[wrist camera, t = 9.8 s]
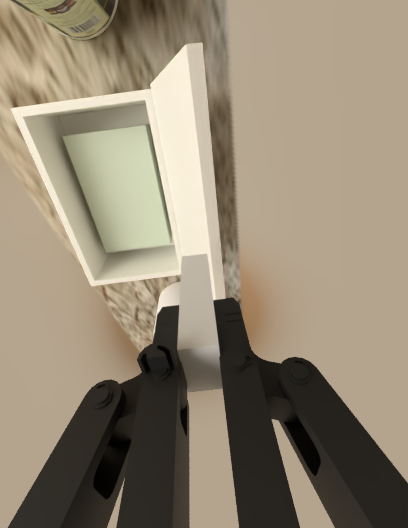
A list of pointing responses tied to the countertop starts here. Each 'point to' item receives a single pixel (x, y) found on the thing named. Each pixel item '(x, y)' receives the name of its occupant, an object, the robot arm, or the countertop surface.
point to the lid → (190, 157)
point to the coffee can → (73, 15)
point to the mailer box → (107, 183)
